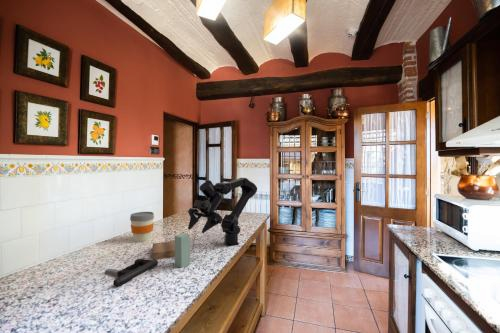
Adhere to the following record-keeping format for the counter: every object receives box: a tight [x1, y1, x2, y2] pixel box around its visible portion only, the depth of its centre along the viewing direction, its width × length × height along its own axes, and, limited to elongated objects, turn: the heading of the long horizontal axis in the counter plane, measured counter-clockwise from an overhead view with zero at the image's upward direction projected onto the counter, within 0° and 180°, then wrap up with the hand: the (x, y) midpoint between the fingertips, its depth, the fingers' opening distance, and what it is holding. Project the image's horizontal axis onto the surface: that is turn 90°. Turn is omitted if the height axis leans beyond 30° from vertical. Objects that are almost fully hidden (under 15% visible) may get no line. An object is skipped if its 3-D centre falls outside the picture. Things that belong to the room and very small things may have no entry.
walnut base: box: [152, 240, 175, 260], centre depth 119 cm, size 14×14×3 cm
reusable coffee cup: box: [129, 211, 155, 243], centre depth 138 cm, size 13×13×15 cm
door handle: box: [104, 258, 159, 288], centre depth 97 cm, size 3×20×16 cm
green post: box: [174, 232, 191, 269], centre depth 104 cm, size 4×4×13 cm
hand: (195, 230), depth 110 cm, fingers open, 9 cm apart
